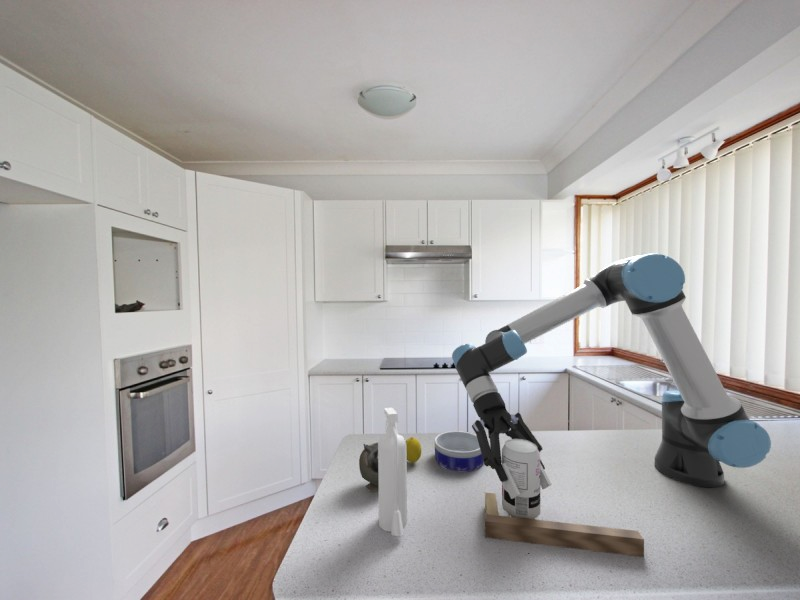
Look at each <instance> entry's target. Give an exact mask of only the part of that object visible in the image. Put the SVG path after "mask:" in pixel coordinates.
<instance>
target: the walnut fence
mask: <svg viewBox="0 0 800 600" xmlns="http://www.w3.org/2000/svg"><path fill="white" fill-rule="evenodd" d="M484 496H485V497H484V505H485V506H484V508H485V513H484V538H486V539H495V540H502V541H504V540H505V541H509V542H510V541H511V542H519V543H527V544H536V545H543V546H550V547H551V546H552V547H559V548H565V549H566V548H567V549H569V548H570V549H574V550H584V551H593V552H599V553H608V554H614V555H615V554H617V555H623V556H631V557H632V556H634V557H639V558H640V557H641V558H645V539H644V537H643V536H642V535H641V533H640V532H639V531H638V530H632V529H625V528H615V527H606V526H597V525H588V524H580V523H579V524H578V523H569V522H561V521H551V520H544V519H543V520H541V519H536V518H535V519H526V518H517V517H511V516H509V515H508V516H506V515H500V514H499V507H498V500H497V494H496V493H494V492H486V491H485V492H484Z"/></svg>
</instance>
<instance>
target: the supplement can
mask: <svg viewBox="0 0 800 600" xmlns="http://www.w3.org/2000/svg"><path fill="white" fill-rule="evenodd" d="M540 459H541V452H540V453H539V451H538V449H537V446H536V445H535V444H534V443H532V442H530V441H527V440H523V439H511V438H510V439H507V440H506V441H504V445H503V446H502V448H501V461H502V463H501V464H503V463H506V465H507V467H508V469H509V471H510V473H511V475H512V478H513V480H514V482H515V484H516V486H517V488H518V490H519V492H520V495H518V496H517V497H515V498H513V499H511V497H510V495H509V493H508V491H507V488H506V486H505V484H504V482H501V507H502V509H503V510H504V512H505V513H506V514H508V516H509V517H517V518H526V519H535V520H536V519H537V518H538V517H539V516H540V515H541V485H540Z"/></svg>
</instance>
